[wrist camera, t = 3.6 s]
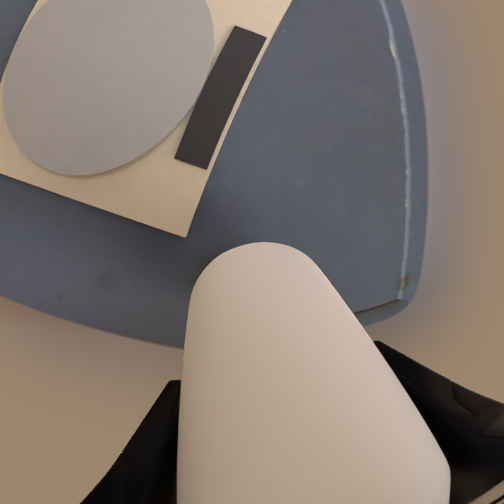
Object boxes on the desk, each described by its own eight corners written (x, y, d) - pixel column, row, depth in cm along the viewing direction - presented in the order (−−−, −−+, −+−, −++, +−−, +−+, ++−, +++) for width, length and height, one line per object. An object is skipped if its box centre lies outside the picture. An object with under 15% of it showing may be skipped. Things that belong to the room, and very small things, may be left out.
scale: (187, 230, 15) (184, 243, 13) (-8, 163, 11) (-26, 168, 10) (291, 0, 10) (300, -13, 9) (75, -38, 7) (65, -50, 5)
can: (258, 207, 12) (446, 562, 1) (347, 293, 14) (486, 500, 3) (162, 308, 13) (126, 584, 2) (258, 369, 15) (305, 577, 4)
